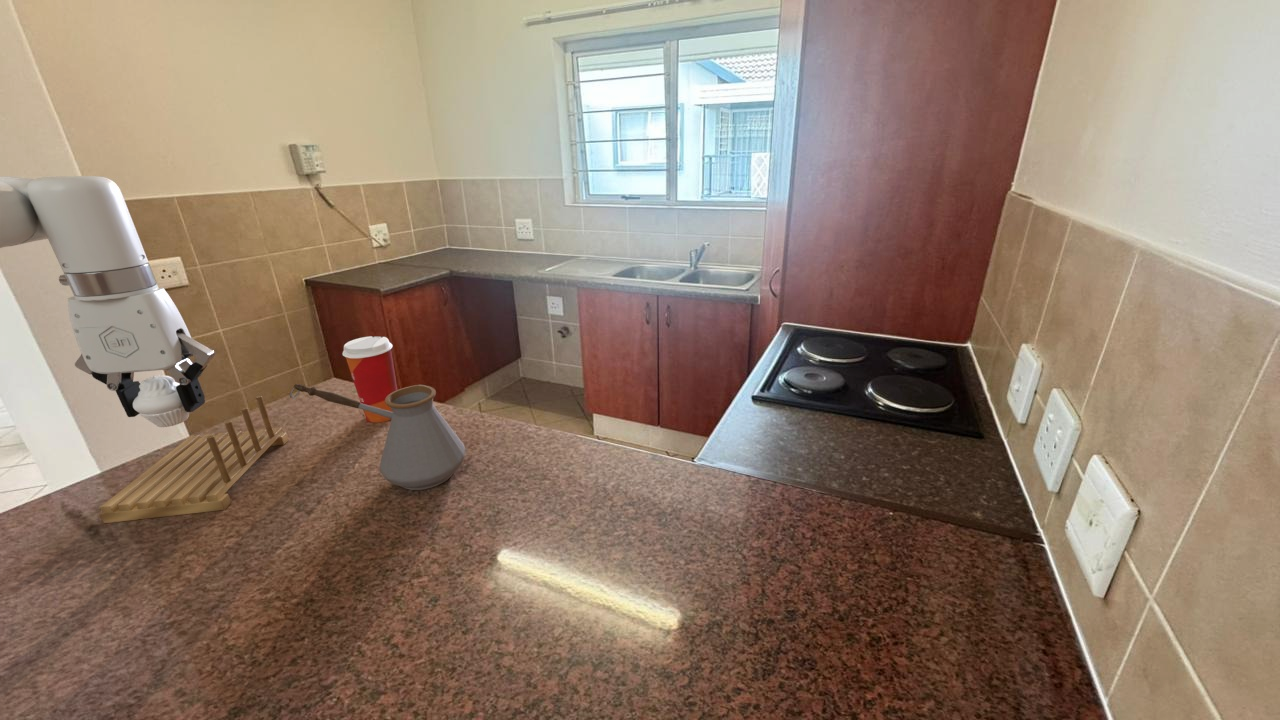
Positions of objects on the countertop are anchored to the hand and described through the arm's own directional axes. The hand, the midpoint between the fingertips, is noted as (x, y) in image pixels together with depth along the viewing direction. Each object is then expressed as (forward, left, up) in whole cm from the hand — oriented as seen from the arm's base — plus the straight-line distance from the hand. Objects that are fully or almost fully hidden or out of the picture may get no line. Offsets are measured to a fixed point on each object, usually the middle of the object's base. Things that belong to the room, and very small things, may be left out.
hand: (167, 408), depth 69 cm
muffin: (0, 0, -2) cm, 2 cm away
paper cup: (+21, +15, -12) cm, 29 cm away
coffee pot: (+28, -5, -12) cm, 31 cm away
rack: (+1, 0, -11) cm, 11 cm away
